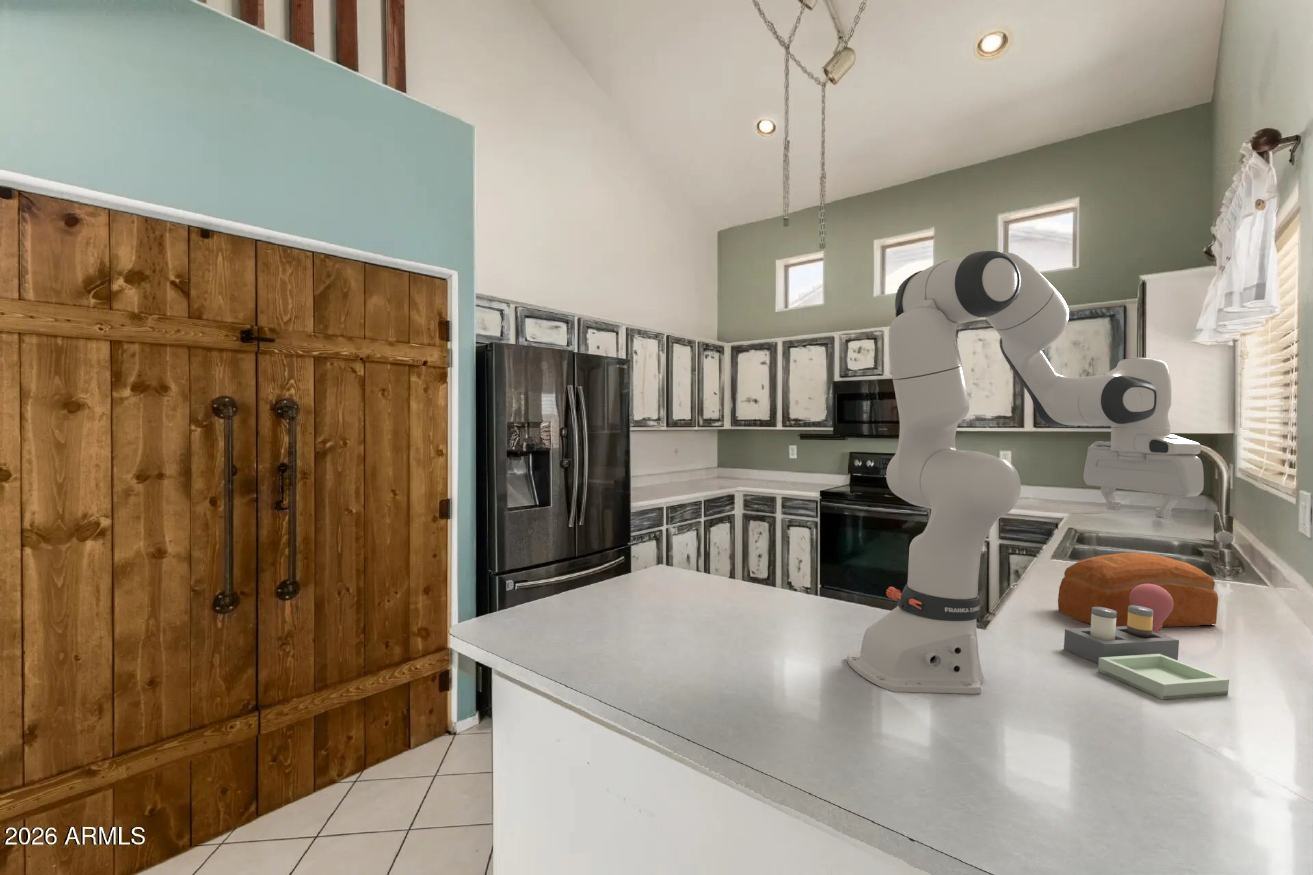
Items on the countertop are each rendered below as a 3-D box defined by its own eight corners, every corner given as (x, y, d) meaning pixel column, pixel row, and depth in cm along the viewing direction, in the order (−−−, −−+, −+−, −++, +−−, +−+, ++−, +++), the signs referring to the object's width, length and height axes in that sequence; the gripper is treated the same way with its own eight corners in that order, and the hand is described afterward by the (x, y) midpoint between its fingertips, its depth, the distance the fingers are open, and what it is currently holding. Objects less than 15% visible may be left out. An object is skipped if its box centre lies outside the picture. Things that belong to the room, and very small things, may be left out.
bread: (1049, 610, 143) (1053, 546, 142) (1163, 608, 148) (1167, 547, 148) (1100, 630, 129) (1105, 560, 129) (1224, 628, 134) (1229, 560, 134)
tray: (1163, 699, 95) (1164, 684, 95) (1098, 671, 106) (1098, 657, 105) (1228, 694, 98) (1229, 679, 98) (1158, 666, 109) (1159, 653, 109)
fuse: (1103, 660, 111) (1105, 613, 111) (1084, 652, 115) (1086, 607, 114) (1118, 659, 112) (1121, 612, 112) (1099, 651, 115) (1102, 606, 115)
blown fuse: (1140, 657, 113) (1143, 611, 113) (1120, 650, 117) (1123, 605, 116) (1155, 656, 114) (1158, 611, 114) (1135, 649, 118) (1138, 604, 117)
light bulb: (1179, 649, 119) (1183, 590, 118) (1139, 645, 120) (1143, 587, 120) (1157, 636, 126) (1160, 581, 125) (1119, 633, 127) (1122, 578, 127)
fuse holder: (1102, 665, 108) (1104, 644, 108) (1063, 648, 116) (1064, 628, 116) (1177, 660, 112) (1179, 639, 112) (1135, 644, 120) (1136, 625, 120)
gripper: (1076, 440, 123) (1074, 506, 123) (1184, 445, 103) (1181, 523, 103) (1100, 440, 124) (1098, 505, 124) (1211, 445, 104) (1208, 522, 105)
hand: (1137, 513), depth 114 cm, fingers open, 8 cm apart
